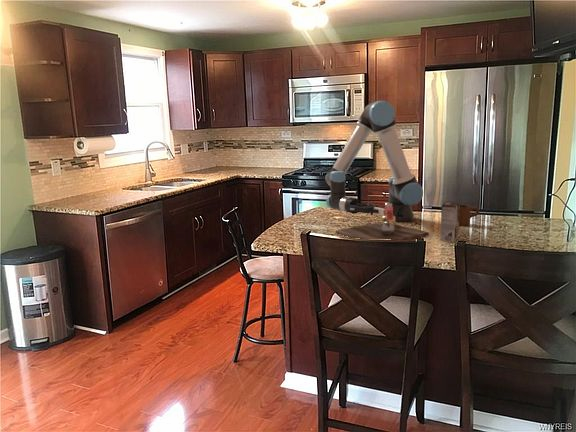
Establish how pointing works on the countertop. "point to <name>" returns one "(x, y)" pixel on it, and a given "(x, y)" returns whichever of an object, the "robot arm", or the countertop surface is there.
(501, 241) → the countertop surface
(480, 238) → the countertop surface
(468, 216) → the mug
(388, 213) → the valve lever
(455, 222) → the coffee box
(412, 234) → the valve board
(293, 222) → the countertop surface
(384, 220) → the valve pipe
